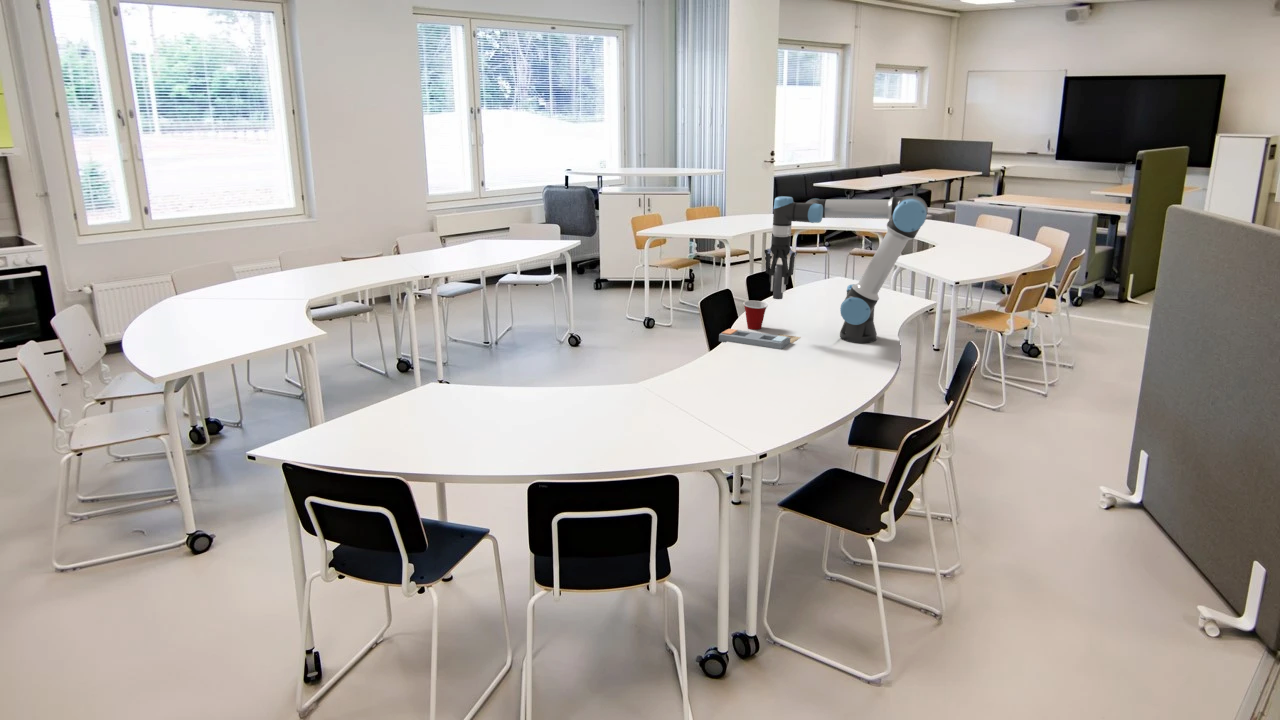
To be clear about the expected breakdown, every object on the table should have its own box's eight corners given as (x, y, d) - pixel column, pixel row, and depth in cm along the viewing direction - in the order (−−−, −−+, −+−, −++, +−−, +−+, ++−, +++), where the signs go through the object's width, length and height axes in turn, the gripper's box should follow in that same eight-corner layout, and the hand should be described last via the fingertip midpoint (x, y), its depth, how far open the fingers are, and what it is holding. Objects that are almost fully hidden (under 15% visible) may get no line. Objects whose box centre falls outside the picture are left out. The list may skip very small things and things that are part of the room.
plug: (784, 297, 345) (786, 264, 340) (780, 299, 342) (782, 266, 337) (775, 296, 347) (777, 263, 342) (771, 298, 344) (773, 265, 339)
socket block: (790, 344, 344) (790, 336, 343) (780, 350, 336) (781, 342, 334) (729, 335, 357) (729, 327, 356) (718, 341, 349) (719, 333, 348)
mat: (800, 338, 351) (800, 337, 351) (792, 344, 343) (792, 343, 343) (778, 335, 356) (778, 334, 356) (769, 341, 348) (769, 339, 348)
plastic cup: (758, 334, 359) (759, 307, 355) (737, 330, 365) (738, 303, 362) (771, 328, 367) (772, 302, 363) (751, 324, 373) (751, 298, 369)
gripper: (804, 235, 335) (800, 292, 342) (765, 231, 343) (762, 286, 351) (797, 238, 329) (793, 295, 336) (758, 234, 337) (755, 290, 345)
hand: (778, 291), depth 343 cm, fingers closed on plug, 4 cm apart
